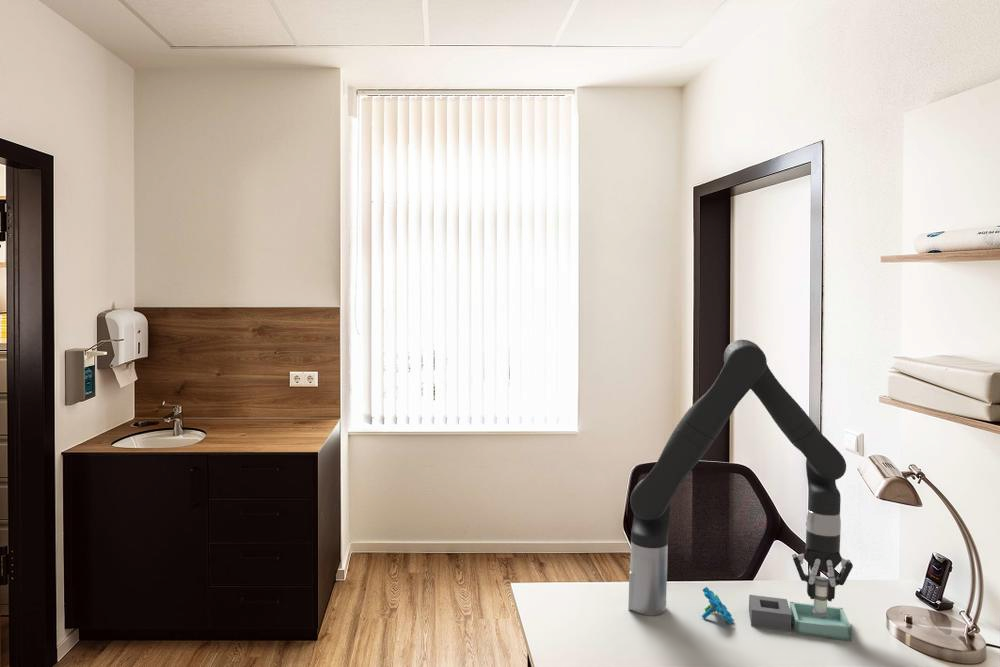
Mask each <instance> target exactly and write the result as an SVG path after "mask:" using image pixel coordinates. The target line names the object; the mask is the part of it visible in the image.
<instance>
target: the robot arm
mask: <svg viewBox="0 0 1000 667" xmlns="http://www.w3.org/2000/svg"><path fill="white" fill-rule="evenodd" d="M723 362H724V363H723V367H722V369H721V370H720V373H719V374H718V376H717V377H716V379H715V381H714V382H713V384H712V385H711V386H710V388H709V389H708V390H707V391H706V392H705V393H704V394H703V395H702V396H701V397H699V399H698V400H696V401H695V402H694V404H692V405H691V406H690V407H689V408H688V410H687V411H686V412H685V414H684V415H683V417H682V418H681V419H680V421H679V422H678V424H677V425H676V427H675V428H674V430H673V431H672V433H671V435H670V436H669V438H668V440H667V441H666V444H665V445H664V447H663V450H662V452H661V454H660V455H659V457H658V460H657V461H656V462H655V464H654V466H653V467H652V469H651V470H650V471H649V473H647V475H646V476H645V477H644V478H643V479H641V480H639V481H638V483H637V484H636V485H635V486H634V488H633V489H632V491H631V493H630V497H629V501H630V502H629V503H630V508H631V510H632V513H633V520H632V526H631V534H630V565H629V566H630V568H629V573H628V575H629V576H628V577H629V578H628V579H629V580H628V608H627V609H628V611H629V610H630V611H633V612H635V613H637V614H641V615H646V616H658V615H661V614H664V613H665V612H666V610H667V588H668V583H667V582H668V550H669V549H668V548H669V547H668V546H669V545H668V544H669V533H670V524H671V523H670V521H671V501H672V497H673V495H674V494H675V492H676V490H677V489H678V488H679V485H680V484H681V482H682V481H683V480H684V478H685V477H686V476H687V475H688V474H689V473H690V472H691V471H692V469H694V468H695V466H696V465H697V464H698V463H699V462H700V460H701V459H702V458H703V457H704V455H705V454H706V453H707V451H709V449H710V447H711V446H712V445H713V443H714V442H715V440H716V439H717V437H719V434H720V433H721V431H722V429H723V428H724V427H725V426H726V423H727V422H728V420H729V419H730V418H731V416H732V414H733V412H734V410H735V409H736V407H737V405H738V404H739V403H740V402H741V401H742V399H743V398H745V396H746V395H747V393H748V392H749V391H750V390H751V391H752V393H754V395H755V396H756V397H757V399H759V401H760V402H761V404H762V405H763V407H764V408H765V409H766V411H767V413H768V414H769V416H770V417H771V418H772V420H773V422H774V423H775V424H776V425H777V427H778V428H779V430H781V432H782V434H784V436H785V437H786V438H787V440H789V442H790V443H791V444H792V446H793V447H795V448H796V449H797V450H798V451H799V452H801V453H802V454H803V456H804V457H805V458H806V459H805V468H806V477H807V478H806V479H807V485H808V490H809V492H808V507H807V508H808V510H807V511H808V512H807V515H806V521H805V526H806V530H805V531H806V532H805V548H804V550H803V553H800V554H796V553H793V554H792V560H793V563H794V565H795V568H796V570H797V573H798V576H799V578H800V580H801V581H802V582H806V593H807V597H809V598H810V600H814V580H815V577H817V574H818V572H824V573H826V574H827V579H828V580H829V586H828V600H827V602H832V601H833V600H835V597H836V586H844V584H845V583H846V581H847V578H848V576H849V574H850V573H851V571H852V569H853V567H854V565H853V563H852V561H851V560H850V559H845V558H843V557H842V556H841V552H840V550H841V529H842V528H841V527H842V520H841V501H842V500H841V493H840V490H839V488H838V487H837V483H836V480H839V479H841V478H842V477H843V476H844V475H845V473H846V471H847V462H846V460H845V457H844V456H843V454H841V452H840V450H838V449H837V448H836V447H835V445H834V444H833V443H831V441H830V440H828V438H827V437H826V436H825V435H824V434H823V433H822V432H821V431H820V429H819V428H818V426H817V425H816V424H815V422H814V421H813V420H812V418H810V416H809V415H808V414H807V412H806V411H805V410H804V409H803V408H802V407H801V405H799V403H798V402H797V401H796V400H795V398H793V397H792V396H791V394H790V393H789V392H788V391H787V390H786V388H784V387H783V385H782V384H781V383H780V381H779V380H778V378H776V376H775V375H774V373H773V372H772V371H771V369H770V367H769V366H768V364H767V357H766V354H765V353H764V351H763V350H762V349H761V348H760V347H759V345H758V344H756V342H755V343H754V342H753V341H751V340H748V339H737V340H735V341H732V342H731V343H729V344H728V345H727V347H726V348H725V350H724V353H723ZM804 559H805V561H806V562H807V563H808V565H809V568H808V572H807V574H806V573H805V572H804V569H803V566H802V565H803V564H804ZM838 565H840V566H841V569H840V571H839V573H838V575H837V577H835V571H834V569H836V567H837V566H838Z"/></svg>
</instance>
